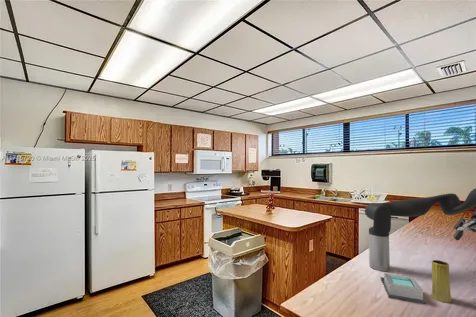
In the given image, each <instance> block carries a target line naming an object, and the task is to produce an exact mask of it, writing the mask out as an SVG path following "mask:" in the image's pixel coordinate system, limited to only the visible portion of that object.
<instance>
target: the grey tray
mask: <svg viewBox="0 0 476 317" xmlns="http://www.w3.org/2000/svg"><path fill="white" fill-rule="evenodd" d="M390 278H392V279H399V280H405V281H410V282H411V284H412V285H413V286H414V287H412V286H406V285H399V284H393V283H392V281H391V279H390ZM380 282H381V283H383V284H382V286H383V285H384V286H383V288H384V291H385V292H387V293H386V295H387V297H388V299H394V300H400V301H401V300H402V301H406V302H412V303H416V304H417V303H418V304H422V305H423V304H424V305H425V304H426V301H425V299H424V296H423V294H424V293H423V288H422V287H421V285H420V284H419V283H418V282H417V280H416V279H415V278H414V277H412V276H404V275H397V274H392V273H391V274H390V273H383V276H380Z"/></svg>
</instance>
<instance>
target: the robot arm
mask: <svg viewBox="0 0 476 317" xmlns="http://www.w3.org/2000/svg"><path fill="white" fill-rule="evenodd" d="M465 198H466V199H465V200H464V201H463V202H462V201H461V200H460V198H459V196H458V194H456V193H452V192H451V193H443V194H438V195H433V196H427V197H420V198H419V197H418V198H409V199H403V200H397V201H391V202H373V203H369V204H368V205H366V207H365V208H364V214H365V216H366V217H367V218H369V219H370V220H372V221H373V224H372V226H370V227H369V228H368V252H369V253H368V259H369V261H368V262H369V267H370V268H371V269H374V270H376V271H380V272H388V271H390V270H391V267H390V266H391V263H390V262H391V261H390V260H391V259H390V232H391V229H392V217H403V218H404V217H405V218H407V217H408V218H414V217H419V216H421V217H422V216H424V215H427V213H428V212H429V211H431V208H432V207H433V206H434V205H435V204H436V203H438V206H439V207H440V210H442V213H443V214H444V215H446V216H453V215H458V214H461V213H463V212H466V211H468V210H471V209H473V208H475V207H476V187H475V188H473V189H471V191H469V193H468V195H467V197H465ZM467 227H468V228H467ZM453 228H454V230H455V233H454V234H453V239H455V240H456V241H459V240H461V239H462V237H463V236H464V234H466V233H476V209H475V210H474V211H473V213H472V214H471V217H470V219H468V220H467V219H465V218H464V217H461V218H460V219H459V220H458V222H456V223H455V225H454V226H453Z"/></svg>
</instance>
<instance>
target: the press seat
mask: <svg viewBox="0 0 476 317" xmlns="http://www.w3.org/2000/svg"><path fill="white" fill-rule="evenodd" d="M390 279H391V281H392V283H393V284H399V285H406V286H412V287H414V286H413V285H412V284H411V282H410V281H405V280H399V279H392V278H390Z"/></svg>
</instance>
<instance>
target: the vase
mask: <svg viewBox="0 0 476 317" xmlns="http://www.w3.org/2000/svg"><path fill="white" fill-rule="evenodd" d="M431 275H432V276H431V297H432V298H433V299H434V300H436V301H439V302H442V303H447V304H448V303H452V300H453V299H452V295H451V294H452V293H451V282H450V279H451V278H450V263H448V262H446V261H443V260H439V259H433V260H432V261H431Z"/></svg>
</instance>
